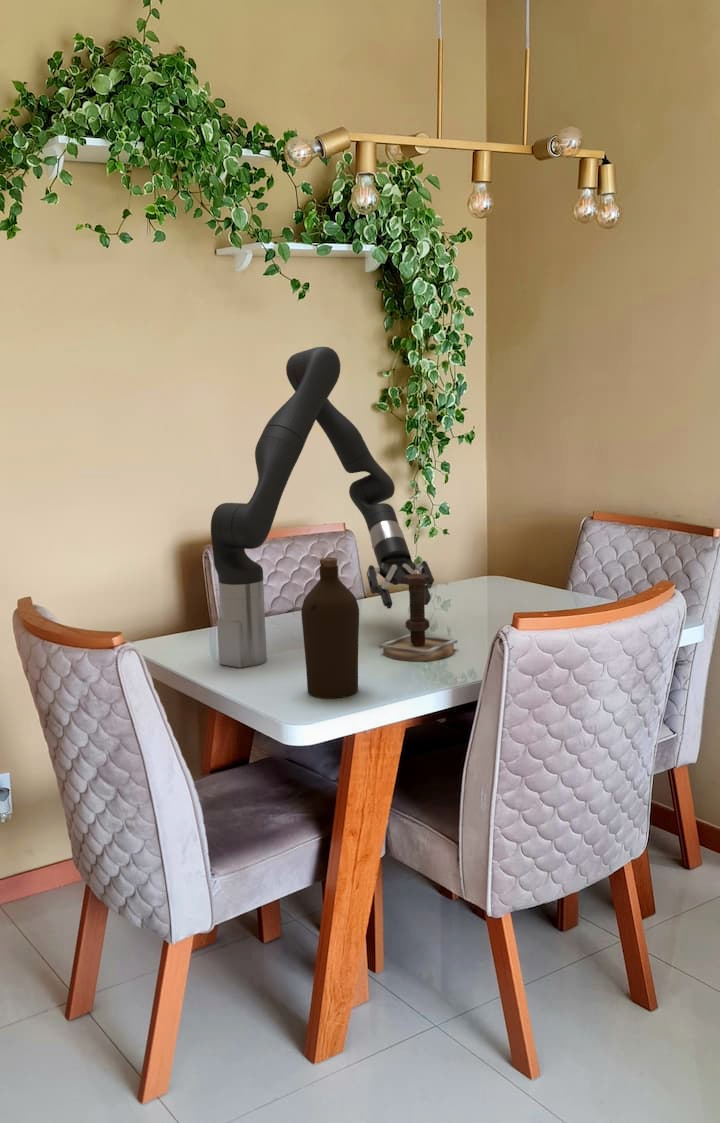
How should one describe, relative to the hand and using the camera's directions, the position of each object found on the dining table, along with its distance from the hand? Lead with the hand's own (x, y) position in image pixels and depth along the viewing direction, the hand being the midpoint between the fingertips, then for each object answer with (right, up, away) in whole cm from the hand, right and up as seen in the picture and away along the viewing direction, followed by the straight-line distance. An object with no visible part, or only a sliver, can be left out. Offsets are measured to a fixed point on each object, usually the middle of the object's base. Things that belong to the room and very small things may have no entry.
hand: (408, 604), depth 215 cm
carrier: (+2, -10, -4) cm, 11 cm away
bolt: (+2, -9, -4) cm, 10 cm away
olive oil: (-16, -15, -30) cm, 37 cm away
